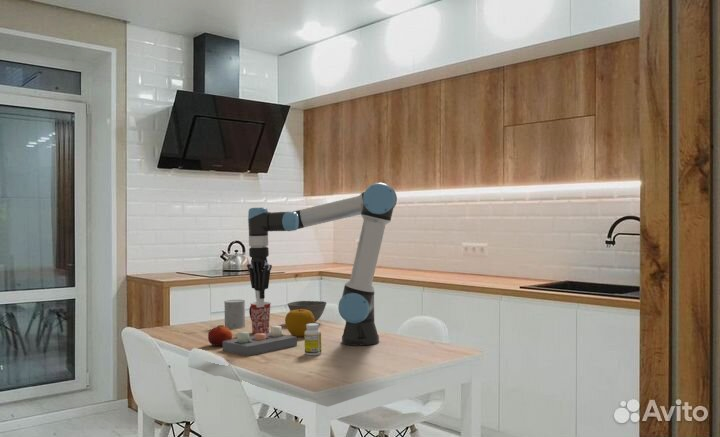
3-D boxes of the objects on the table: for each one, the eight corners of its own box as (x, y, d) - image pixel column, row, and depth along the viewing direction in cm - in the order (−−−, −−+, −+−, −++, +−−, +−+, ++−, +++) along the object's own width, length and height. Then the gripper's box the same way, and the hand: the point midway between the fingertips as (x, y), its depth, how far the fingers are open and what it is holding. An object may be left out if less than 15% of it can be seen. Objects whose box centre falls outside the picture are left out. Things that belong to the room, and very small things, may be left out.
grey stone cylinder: (220, 328, 283) (220, 302, 283) (230, 324, 292) (230, 299, 292) (239, 329, 280) (238, 302, 280) (248, 325, 289) (248, 299, 289)
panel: (296, 345, 241) (296, 336, 241) (247, 356, 223) (247, 346, 223) (271, 340, 252) (271, 332, 252) (222, 350, 234) (222, 341, 234)
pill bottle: (312, 351, 230) (312, 322, 230) (324, 353, 226) (324, 323, 226) (301, 354, 225) (300, 324, 225) (313, 356, 221) (312, 326, 221)
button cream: (283, 336, 243) (283, 326, 243) (275, 338, 240) (275, 328, 240) (276, 335, 246) (276, 325, 246) (268, 336, 243) (268, 326, 243)
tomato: (236, 343, 247) (235, 323, 247) (225, 348, 238) (224, 327, 238) (215, 342, 249) (215, 323, 249) (204, 347, 241) (203, 327, 241)
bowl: (334, 321, 296) (334, 301, 296) (311, 328, 280) (311, 306, 280) (303, 319, 306) (303, 299, 306) (279, 324, 290) (279, 304, 290)
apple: (280, 338, 257) (280, 311, 257) (291, 332, 270) (291, 306, 270) (309, 339, 254) (309, 311, 254) (319, 333, 267) (318, 307, 267)
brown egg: (268, 344, 237) (268, 333, 237) (259, 345, 234) (259, 335, 234) (261, 342, 240) (261, 332, 240) (252, 344, 237) (252, 334, 237)
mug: (275, 333, 268) (274, 302, 269) (257, 335, 263) (257, 304, 263) (260, 329, 278) (259, 300, 278) (242, 332, 272) (242, 302, 272)
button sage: (251, 342, 232) (251, 332, 232) (242, 344, 228) (241, 334, 228) (244, 341, 235) (244, 331, 235) (235, 343, 231) (235, 332, 231)
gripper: (276, 246, 236) (278, 307, 236) (256, 246, 245) (257, 304, 244) (261, 247, 230) (263, 309, 230) (241, 247, 239) (242, 306, 239)
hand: (260, 306), depth 237 cm, fingers closed
